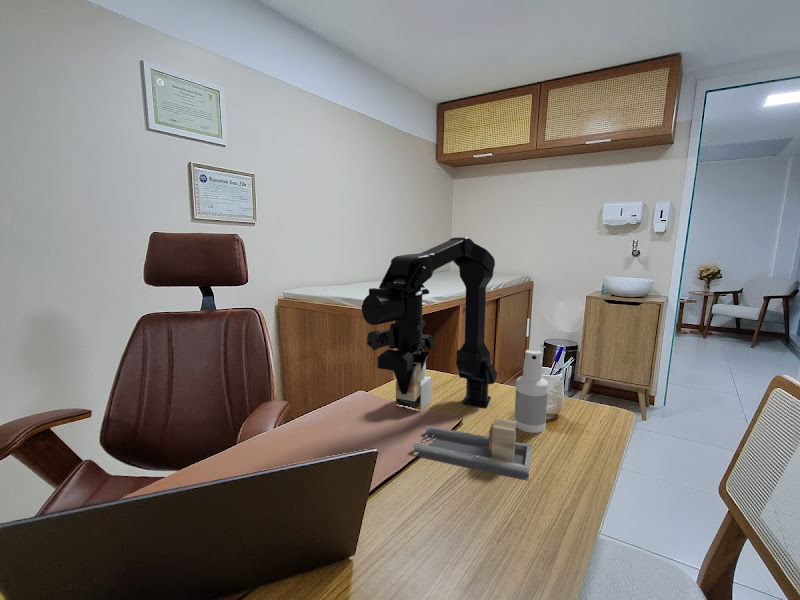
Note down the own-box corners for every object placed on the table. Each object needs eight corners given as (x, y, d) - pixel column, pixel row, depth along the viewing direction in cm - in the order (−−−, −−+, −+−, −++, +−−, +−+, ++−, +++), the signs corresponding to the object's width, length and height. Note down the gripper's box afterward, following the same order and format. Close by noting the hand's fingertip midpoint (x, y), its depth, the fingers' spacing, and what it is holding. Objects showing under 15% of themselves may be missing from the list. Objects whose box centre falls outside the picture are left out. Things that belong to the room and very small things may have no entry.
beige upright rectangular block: (491, 450, 77) (492, 417, 76) (514, 454, 75) (516, 421, 74) (488, 460, 73) (489, 426, 72) (512, 465, 72) (514, 430, 71)
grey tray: (426, 432, 84) (426, 425, 84) (531, 451, 76) (531, 445, 76) (413, 451, 77) (413, 444, 76) (528, 476, 68) (529, 468, 68)
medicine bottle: (395, 406, 99) (395, 362, 97) (407, 397, 105) (407, 354, 103) (420, 412, 95) (420, 366, 93) (431, 402, 101) (432, 358, 100)
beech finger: (403, 391, 84) (403, 360, 83) (420, 394, 82) (420, 363, 81) (395, 399, 79) (395, 367, 78) (413, 402, 78) (413, 369, 77)
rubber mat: (428, 431, 86) (428, 429, 86) (531, 451, 77) (531, 449, 77) (411, 457, 76) (411, 454, 75) (528, 482, 67) (528, 480, 67)
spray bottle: (515, 432, 85) (518, 355, 82) (513, 419, 92) (516, 346, 89) (547, 436, 83) (552, 357, 81) (543, 422, 90) (547, 348, 87)
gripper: (390, 307, 90) (390, 371, 92) (351, 323, 73) (353, 401, 75) (435, 310, 86) (434, 377, 88) (406, 328, 69) (406, 410, 71)
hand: (408, 389), depth 81 cm, fingers closed on beech finger, 5 cm apart
